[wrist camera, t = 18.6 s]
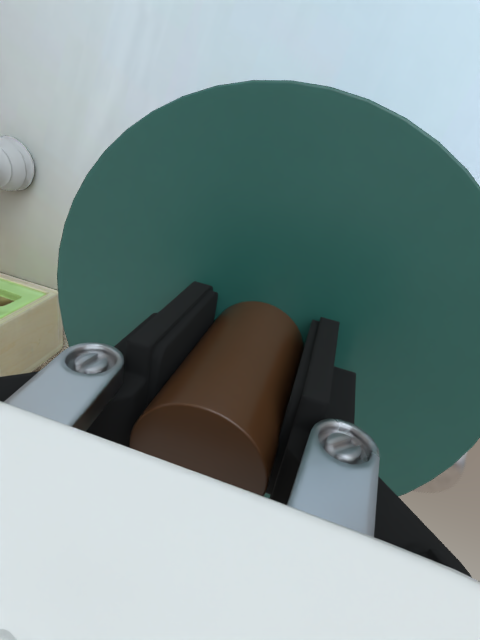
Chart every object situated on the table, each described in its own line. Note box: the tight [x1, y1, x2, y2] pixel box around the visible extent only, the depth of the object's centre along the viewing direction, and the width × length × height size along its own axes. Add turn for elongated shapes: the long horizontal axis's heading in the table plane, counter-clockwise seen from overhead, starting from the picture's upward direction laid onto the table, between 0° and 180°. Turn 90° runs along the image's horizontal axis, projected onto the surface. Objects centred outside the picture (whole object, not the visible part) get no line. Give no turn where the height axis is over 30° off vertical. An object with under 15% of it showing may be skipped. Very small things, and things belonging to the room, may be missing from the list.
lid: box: [57, 80, 480, 498], centre depth 10 cm, size 14×14×6 cm
